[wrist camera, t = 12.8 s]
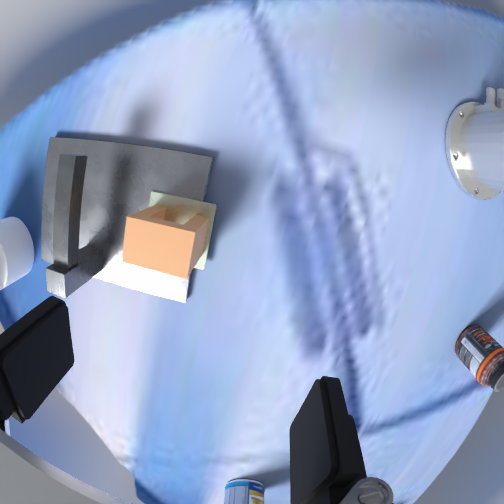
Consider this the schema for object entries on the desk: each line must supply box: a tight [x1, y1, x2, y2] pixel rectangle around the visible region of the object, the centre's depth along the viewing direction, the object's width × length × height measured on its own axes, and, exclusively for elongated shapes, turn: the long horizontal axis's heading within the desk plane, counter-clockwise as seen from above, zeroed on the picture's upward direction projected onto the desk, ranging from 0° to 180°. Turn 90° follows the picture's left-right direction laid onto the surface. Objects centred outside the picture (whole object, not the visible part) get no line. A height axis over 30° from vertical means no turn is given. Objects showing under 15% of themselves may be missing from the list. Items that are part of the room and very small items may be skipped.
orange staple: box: [122, 205, 209, 279], centre depth 26 cm, size 4×6×7 cm, turn 77°
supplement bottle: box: [455, 325, 504, 392], centre depth 29 cm, size 6×6×11 cm
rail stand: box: [41, 137, 217, 303], centre depth 26 cm, size 16×22×9 cm
